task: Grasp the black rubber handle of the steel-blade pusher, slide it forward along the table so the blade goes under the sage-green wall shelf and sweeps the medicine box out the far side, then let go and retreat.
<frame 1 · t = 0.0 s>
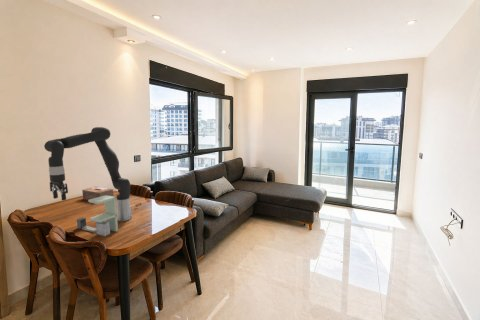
hand: (59, 199, 154), 29 cm above the table, fingers open, 8 cm apart
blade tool: (82, 227, 182), on the table
tissue box cover: (98, 199, 252), on the table
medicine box: (103, 234, 172), on the table
shelf unit: (108, 228, 182), on the table
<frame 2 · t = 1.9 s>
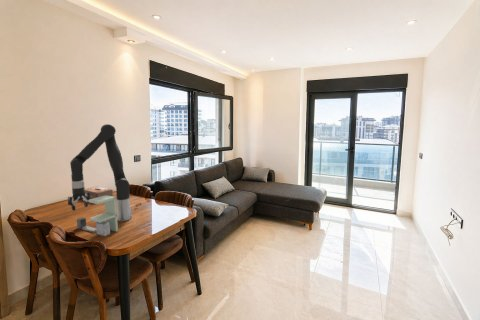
hand: (80, 208, 180), 15 cm above the table, fingers open, 8 cm apart
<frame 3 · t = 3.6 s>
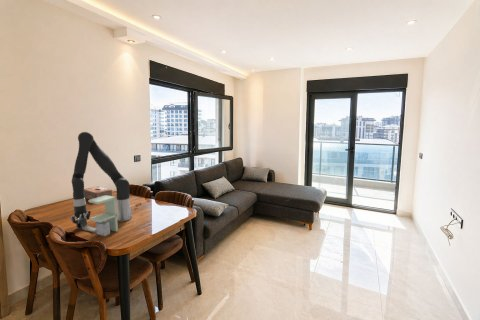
hand: (81, 226, 182), 1 cm above the table, fingers closed on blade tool, 4 cm apart
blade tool: (82, 227, 182), on the table, touching gripper
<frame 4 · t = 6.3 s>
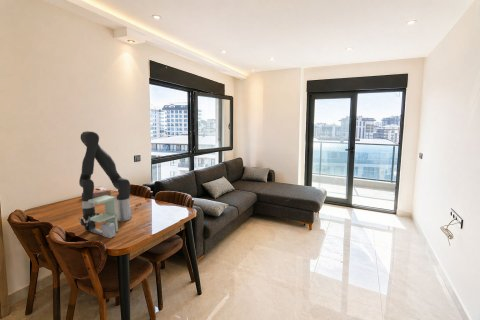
hand: (90, 229, 178), 1 cm above the table, fingers closed on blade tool, 4 cm apart
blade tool: (90, 230, 178), on the table, touching gripper, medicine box
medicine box: (109, 236, 169), on the table, touching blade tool
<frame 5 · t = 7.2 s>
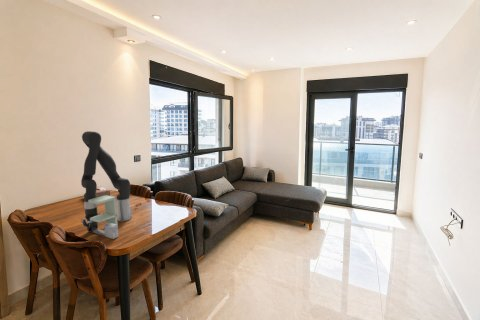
hand: (92, 229, 177), 1 cm above the table, fingers closed on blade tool, 4 cm apart
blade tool: (92, 231, 177), on the table, touching gripper
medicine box: (111, 237, 168), on the table
when the fingers open (1 cm above the table, at t = 8.9 s): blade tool stays where it is, on the table.
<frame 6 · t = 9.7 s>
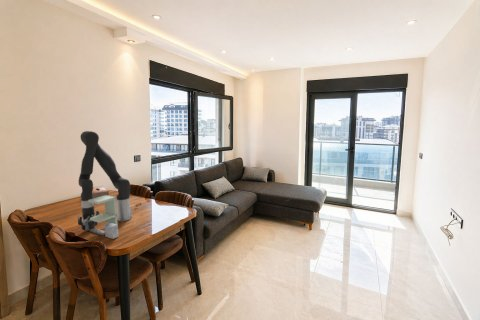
hand: (89, 227, 178), 2 cm above the table, fingers open, 8 cm apart
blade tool: (89, 230, 179), on the table
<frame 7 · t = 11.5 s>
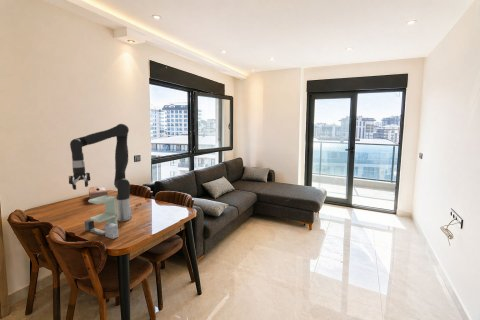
hand: (80, 188, 183), 28 cm above the table, fingers open, 8 cm apart
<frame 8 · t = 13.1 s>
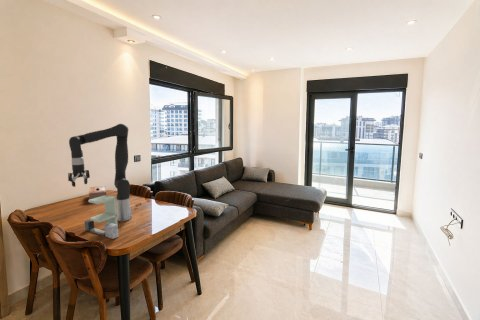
hand: (80, 185, 185), 30 cm above the table, fingers open, 8 cm apart
at the end: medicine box inside the target area (3.5 cm from its centre), on the table; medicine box tilted 0°; the gripper is holding nothing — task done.
